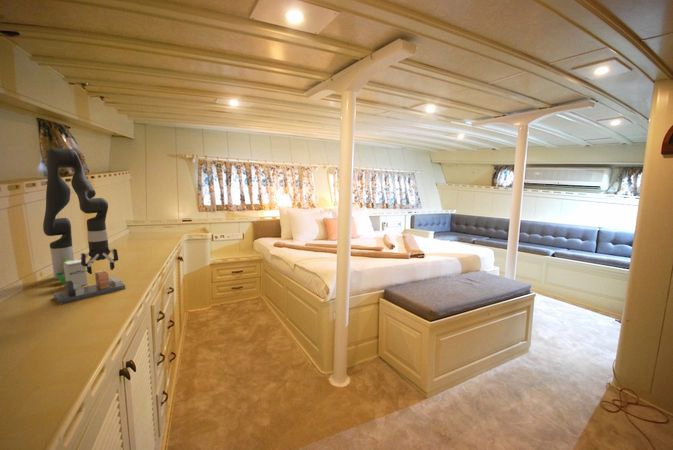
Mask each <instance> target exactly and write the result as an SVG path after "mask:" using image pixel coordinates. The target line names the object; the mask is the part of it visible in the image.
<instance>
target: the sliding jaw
mask: <svg viewBox="0 0 673 450" xmlns="http://www.w3.org/2000/svg"><path fill="white" fill-rule="evenodd" d="M64 287H65V291H66V293H67V294H68V295H72V294H75V295H76V296H78V295H82V294H84V289H83V288H82V286H80V285H79V284H78V283H77V284H73V282H71V281H65V284H64Z"/></svg>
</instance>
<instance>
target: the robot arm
mask: <svg viewBox="0 0 673 450" xmlns="http://www.w3.org/2000/svg"><path fill="white" fill-rule="evenodd" d="M60 168H64V169H65V168H69V169H70V168H72V169H73V170H74V173H73V175H72V178H71V187H72V189H73V191H74V192H75V194H76V195H77V199H78V201H79V202H78V204H79V209H80V211H81V212H83V213H84V214H96V215H95V216H93V217H91V218H87V220H86V231H87V243H88V244H87V245H88V252H85V253H84V252H82V253H80V259H81V265H82V266H86V270H87V271H86V273H88V274H89V275H93V269H92V265H93V264H94V263H95V262H96V261H98V262H99V261H101V260H103V261H104V260H108V261H109V270H110V271H113V270H114V269H115V262H117V261H119V255H118V250H117V249H116V248H112V249H109V248H110V247H109V239H108V232H107V225H106V219H107V215H108V209H109V203H108V201H107V199H105V198H102V197H95V196H96V193H97V192H96V190H95V189H94V187H93V186H92V184H91V182H90V180H89V178H88V177H87V175H86V172H85V169H84V167H83V163H82V162H81V159H80V157H79V155H78V153H77V152H76V151H75V150H74V149H71V148H56V147H55V148H53V147H52V148H49V149H48V150H47V153H46V169H47V171H46V172H47V179H46V180H47V181H46V191H45V211H44V218H43V224H42V228H43V229H42V230H43V233H44V234H45V236H47V237H48V236H49V237H53V236H54V237H55V236H61V237H60V238H57V239H56V240H53V241H52V242H50V243H49V249H50V255H51V256H50V257H51V263H52V270H53V279H55V280H59V278H58V276H57V275H56V273H60V272H63V271H64V270H63V265H64V264H63V262H64V261H65V260H70V261H74V260H75V255H74V249H73V238H72V237H73V236H72V224H71V220H69V218H67V217H59V218H57V215H58V214H59V213H60V212H61V211H62V210H63V209H64V208H65V207H66V206H67V205H68V204H69V203H70V201H71V193H72V191H71V188H70V186H69V185H68V184H67V182H66V181H65V180H64V179H63V178H62V176H61V175H60V173H59V169H60ZM110 253H111V254H112V255H113V258H112V257H110V256H109V255H110ZM88 256H89V257H90V258H89V260H88V261H87V260H86V258H88ZM86 261H87V262H86Z"/></svg>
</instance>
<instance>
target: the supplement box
mask: <svg viewBox="0 0 673 450" xmlns="http://www.w3.org/2000/svg"><path fill="white" fill-rule="evenodd" d="M63 264H64V271H65V279H66V281H71V282H73V284H77V283H78V284H79V285H80V286H81V287H82V286H86V285H87V286H88V277H87V271H86V270H87V267H86V266H82V265H81V258H80V259H74V261H67V262H63Z"/></svg>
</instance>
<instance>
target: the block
mask: <svg viewBox="0 0 673 450" xmlns="http://www.w3.org/2000/svg"><path fill="white" fill-rule="evenodd" d="M94 276H95V285H97V286H98V287H99V288H100V289H103V288H107V287H110V286H109V277H110V276H109V273H108V272H107V271H106V270H104V269H101V270H98V271H94Z"/></svg>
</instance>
